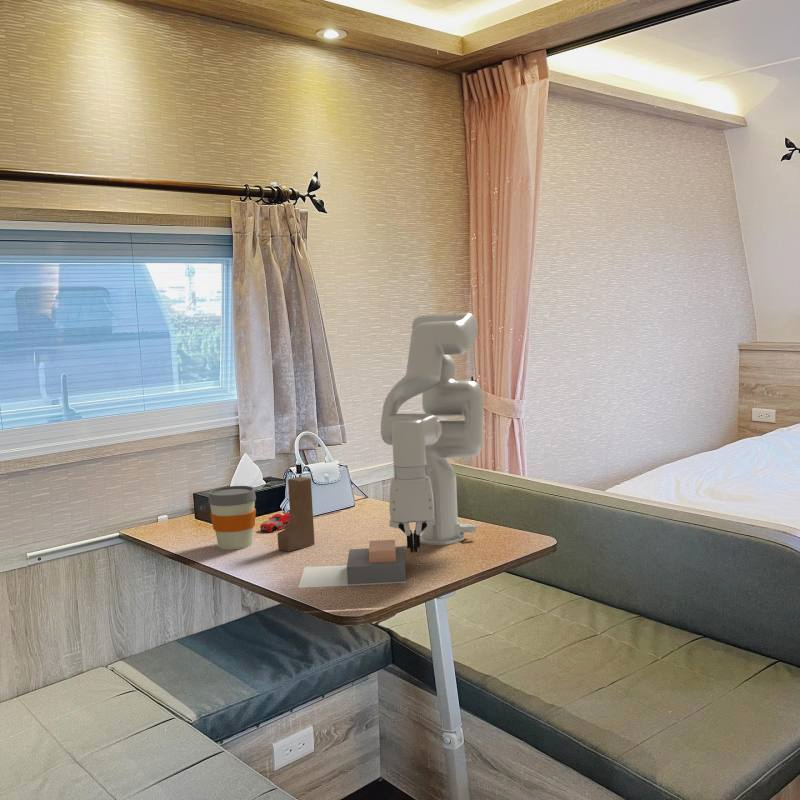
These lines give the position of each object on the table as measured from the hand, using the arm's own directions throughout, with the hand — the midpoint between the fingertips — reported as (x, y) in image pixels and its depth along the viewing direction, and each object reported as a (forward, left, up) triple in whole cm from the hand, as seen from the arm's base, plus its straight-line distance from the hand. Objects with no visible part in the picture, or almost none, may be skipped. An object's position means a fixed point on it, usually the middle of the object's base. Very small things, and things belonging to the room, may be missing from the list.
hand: (413, 550), depth 189 cm
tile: (+7, 0, 0) cm, 7 cm away
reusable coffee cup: (+47, -32, -6) cm, 57 cm away
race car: (+37, -49, -6) cm, 62 cm away
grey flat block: (+9, 0, -5) cm, 10 cm away
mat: (+14, 0, -5) cm, 15 cm away
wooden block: (+30, -27, -6) cm, 41 cm away
